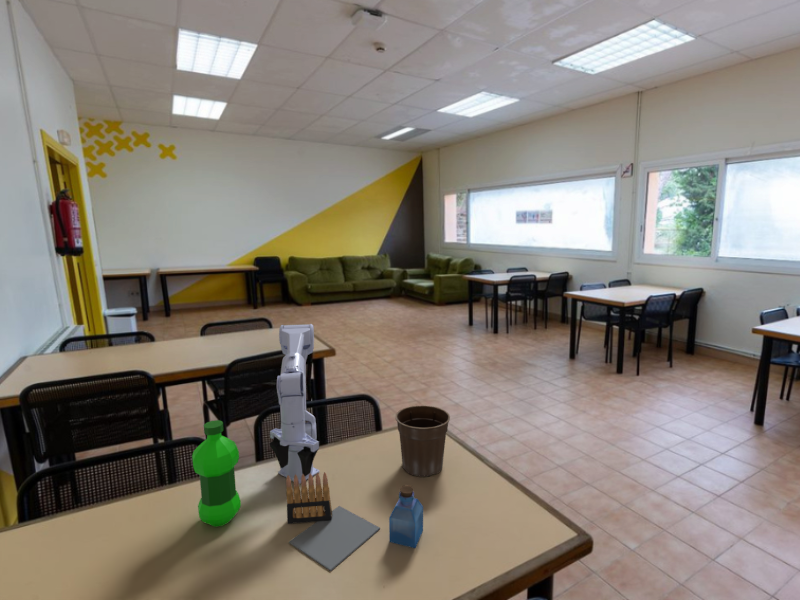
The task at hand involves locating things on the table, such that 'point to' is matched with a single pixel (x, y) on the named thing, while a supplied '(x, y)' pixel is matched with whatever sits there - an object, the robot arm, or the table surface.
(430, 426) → the plant pot
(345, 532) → the rubber mat
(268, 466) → the table surface
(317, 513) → the ammunition clip
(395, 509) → the perfume bottle
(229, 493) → the plastic bottle
